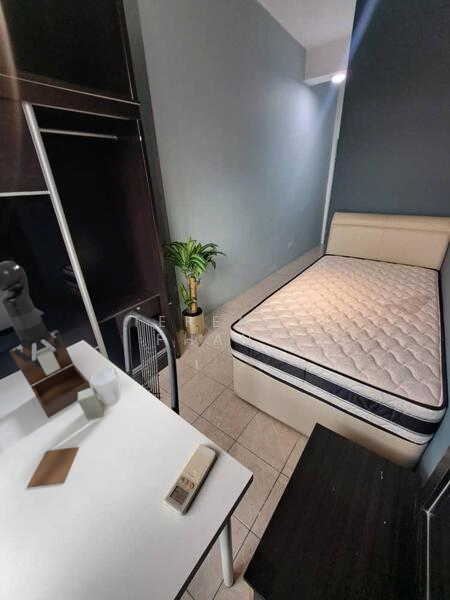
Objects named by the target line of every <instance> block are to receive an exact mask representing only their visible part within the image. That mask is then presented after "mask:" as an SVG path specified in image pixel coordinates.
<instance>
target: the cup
mask: <svg viewBox="0 0 450 600" xmlns="http://www.w3.org/2000/svg"><path fill="white" fill-rule="evenodd" d="M90 383H91V387H93V388H94V390H95V392H96V394H97V396H98V398H99V400H100V402H102V403H103V405H105V406H112V405H117V404H118V403H119V401H120V400H121V398H122V395H123V394H122V387H121V380H120V375H119V373H118V371H117V370H116V368H114V367H103V368H101V369H99V370H97V371H96V372H94V374H93V375H92V376H91V377H90Z"/></svg>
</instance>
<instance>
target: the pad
mask: <svg viewBox="0 0 450 600" xmlns="http://www.w3.org/2000/svg"><path fill="white" fill-rule="evenodd" d="M79 449H80V447H79V446H75V447H66V448H58V449H50V450H47V451H45V452H44V454H43V456H42V458H41V460H40V462H39V464H38V465H37V467H36V469H35V470H34V473H33V475H32V477H31V478H30V480H29V482H28V484H27V486H26V488H35V487H42V486H49V485H57V484H65V482H66V479H67V477H68V475H69V472H70V470H71V469H72V465H73V463H74V461H75V458H76V456H77V454H78V451H79Z"/></svg>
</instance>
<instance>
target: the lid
mask: <svg viewBox="0 0 450 600" xmlns="http://www.w3.org/2000/svg"><path fill="white" fill-rule="evenodd" d="M60 341H61V346H60V347H58V348H57V349H56V351H57V353H58V355H59V357H57V358H58V359H57V362H58V364H59V366H60V369H58V370H57V371H55V372H53V373H51V374H49V375H46V374H45V372H44V371H43V369H42V367H40V368H39V367H36V366H35V364H34V362H33V361H29V362H25V361H24V360H22V359H21V358H20V357H19V356H17V355H16V354H15V353H14V352H13V350H12V349H10V350H9V353H10V355H11V356H12V358H13V360H14V361H15V363H16V364H17V366H18V368H19V370H20V371H21V373H22V375H23V377H24V378H25V380H26V381H27V383H28V384H29V386H30V387H31V386H33V385H35V384H37V383H38V382H40V381H42V380H44V379H46V378H48V377H50V376H52V375H54V374H56V373H58V372H60V371H61V370H63V369H65V368H67V367H69V366H71V365H73V364H74V362H73V360H72V357H71V354H70V353H69V351H68V349H67V347H66V345H65V343H64V340H63V339H62V337H61V335H60ZM49 343H50V344H52V345H54V344H55V341H54V337H53V336H50V339H49ZM46 347H47V346H45V347H42V348H40V349H38V350H36V352H37V351H39V350H41V349H44V348H46ZM22 350H23V353H24V354H25V355H26V356H30V351H29V349H27V348H24V347H23V348H22Z"/></svg>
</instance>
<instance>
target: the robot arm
mask: <svg viewBox="0 0 450 600" xmlns="http://www.w3.org/2000/svg"><path fill="white" fill-rule="evenodd" d="M28 282H29V281H28V277H27V273H26V272H25V270H24V268H23V267H22V266H21V265H20V264H19V263H17V262H15V261H12V260H5V261H2V262H0V292H4V291H6V292H5V293H4V295H3V296H2V297H1V299H0V302H1V303H0V304H1V305H2V308H3V309H4V311H5V312H6V314H7V317H8V319H9V322H10V324H11V325H12V328H13V329H14V332H15V333H16V335H17V336H18V337H17V338H18V339H19V341H20V343H19V344H18V346H13V347H12V349H11V350H13V352H14V353H15V354H16V355H17V356H19V357H20V358H21V359H22V360H24V361H25V362H29V361H33V362H34V364H35V366H36V367H39V368H40V367H42V366H41V364H40V363H39V361H38V359H37V357H36V354H37V353H36V350H38V349H40V348H42V347H45V346H47V347H48V348H49V349H50V350H51V351H52V352H53V354H54V356H55V358H56V360H57V359H58V358H57V357H59V355H58V353H57V351H56V349H57V348H58V347H60V346H61V341H60V336H61V332H60V331H59V330H58V329H55V330H53V331H49V330H47V327H46V325H45V323H44V321H43V319H42V316H41V315H40V313H39V311H38V309H37V308H36V306H35V304H34V302H33V300H32V298H31V296H30V289H29V283H28ZM50 336H53V337H54V341H55V344H54V345H52V344H50V343H49V339H50ZM23 347H24V348H27V349H29V351H30V356H26V355H25V354H24V353H23V350H22V348H23Z"/></svg>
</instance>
